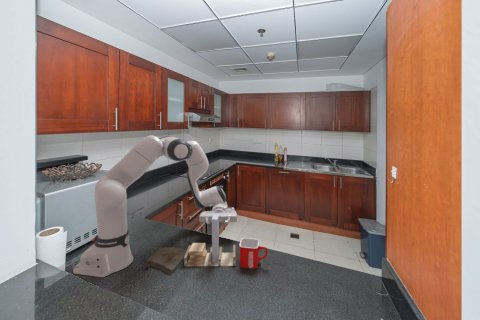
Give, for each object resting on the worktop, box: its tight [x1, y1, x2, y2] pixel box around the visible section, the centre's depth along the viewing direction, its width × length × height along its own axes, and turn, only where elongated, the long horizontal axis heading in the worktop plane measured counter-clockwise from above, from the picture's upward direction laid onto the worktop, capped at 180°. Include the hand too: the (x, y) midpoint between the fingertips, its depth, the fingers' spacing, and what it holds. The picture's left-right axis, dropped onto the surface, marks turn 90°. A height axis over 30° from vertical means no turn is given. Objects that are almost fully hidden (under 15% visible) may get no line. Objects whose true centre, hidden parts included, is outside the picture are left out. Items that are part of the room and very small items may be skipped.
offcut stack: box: [188, 242, 208, 265], centre depth 93 cm, size 7×8×6 cm
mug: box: [239, 237, 268, 269], centre depth 91 cm, size 12×8×11 cm
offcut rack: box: [183, 244, 236, 267], centre depth 94 cm, size 22×10×6 cm, turn 92°
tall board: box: [211, 215, 220, 263], centre depth 93 cm, size 2×6×20 cm, turn 2°
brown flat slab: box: [145, 246, 187, 276], centre depth 92 cm, size 17×15×4 cm
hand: (217, 223), depth 104 cm, fingers open, 8 cm apart
